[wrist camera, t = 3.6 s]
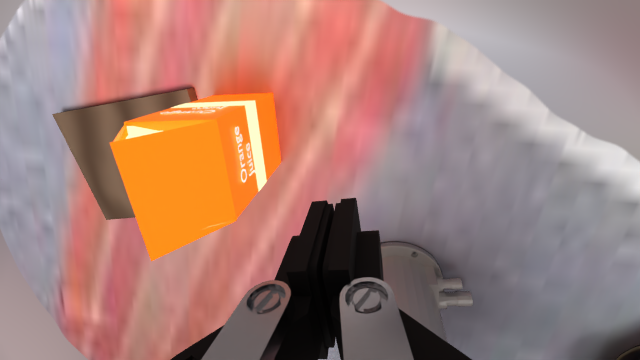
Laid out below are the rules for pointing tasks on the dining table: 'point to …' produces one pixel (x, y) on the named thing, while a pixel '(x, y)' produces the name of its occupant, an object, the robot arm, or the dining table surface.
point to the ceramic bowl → (631, 354)
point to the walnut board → (94, 143)
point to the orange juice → (196, 165)
